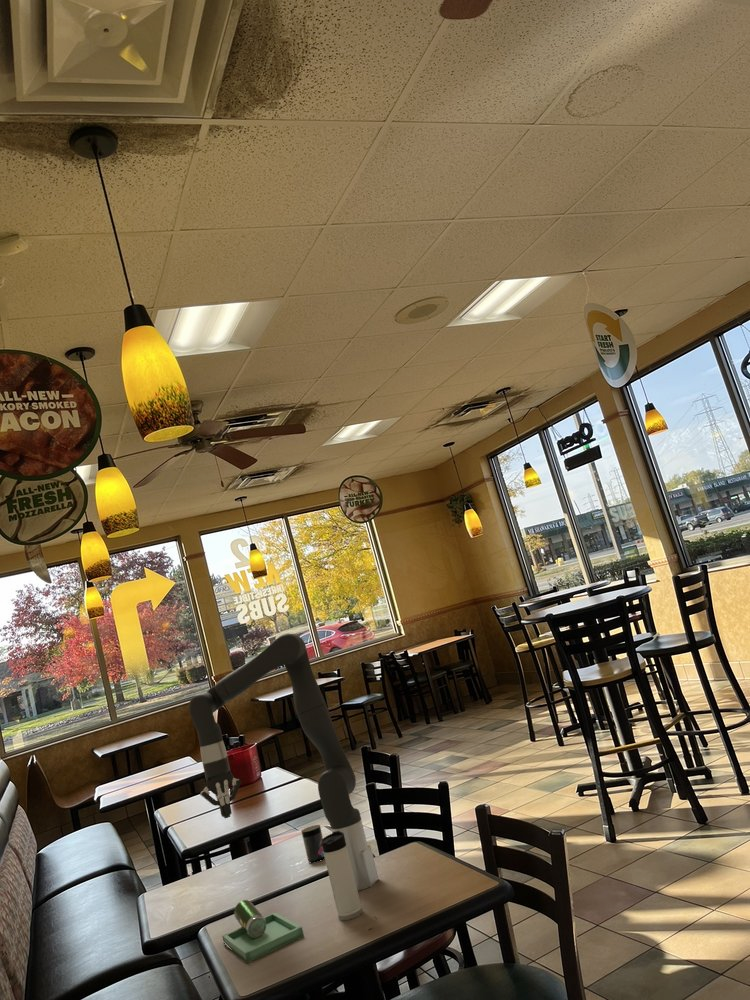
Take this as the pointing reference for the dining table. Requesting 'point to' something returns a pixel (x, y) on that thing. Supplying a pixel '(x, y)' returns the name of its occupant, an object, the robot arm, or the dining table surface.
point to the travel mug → (341, 876)
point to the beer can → (250, 919)
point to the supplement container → (313, 843)
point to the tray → (263, 938)
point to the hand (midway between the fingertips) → (227, 817)
